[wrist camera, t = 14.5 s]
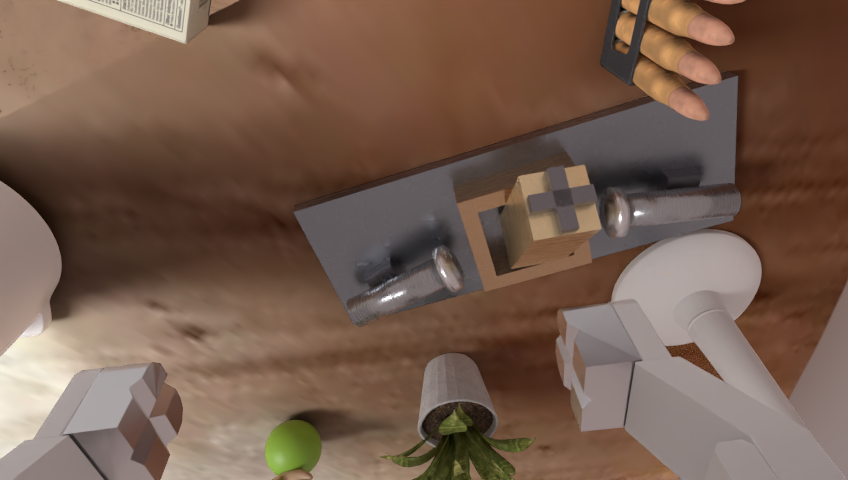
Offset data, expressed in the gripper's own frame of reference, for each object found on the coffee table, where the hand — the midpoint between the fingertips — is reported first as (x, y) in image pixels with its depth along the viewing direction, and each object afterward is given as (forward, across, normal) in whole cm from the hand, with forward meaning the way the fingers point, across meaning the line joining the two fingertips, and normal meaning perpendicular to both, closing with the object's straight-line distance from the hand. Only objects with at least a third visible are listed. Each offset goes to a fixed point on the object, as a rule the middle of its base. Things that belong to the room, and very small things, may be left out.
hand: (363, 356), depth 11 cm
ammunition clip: (+27, -16, -2) cm, 32 cm away
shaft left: (+26, +1, +18) cm, 32 cm away
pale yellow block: (+24, -9, +15) cm, 30 cm away
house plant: (+28, -1, +30) cm, 41 cm away
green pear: (+28, +15, +37) cm, 48 cm away
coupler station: (+27, -9, +14) cm, 32 cm away
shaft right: (+26, -19, +13) cm, 35 cm away
